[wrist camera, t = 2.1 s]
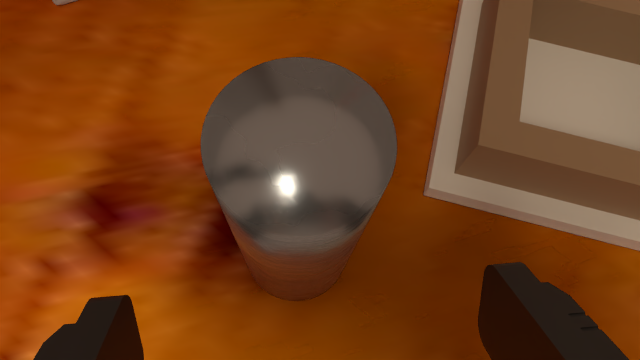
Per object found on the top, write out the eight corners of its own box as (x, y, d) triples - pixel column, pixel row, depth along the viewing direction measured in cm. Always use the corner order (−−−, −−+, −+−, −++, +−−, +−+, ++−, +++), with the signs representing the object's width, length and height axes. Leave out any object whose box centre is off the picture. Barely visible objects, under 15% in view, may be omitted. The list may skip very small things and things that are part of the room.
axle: (232, 285, 20) (171, 204, 10) (262, 191, 22) (236, 38, 12) (333, 313, 20) (374, 258, 10) (355, 215, 22) (413, 82, 11)
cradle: (423, 195, 22) (449, 160, 19) (459, -2, 27) (487, -62, 23) (681, 261, 22) (761, 240, 18) (675, 50, 26) (739, -3, 22)
